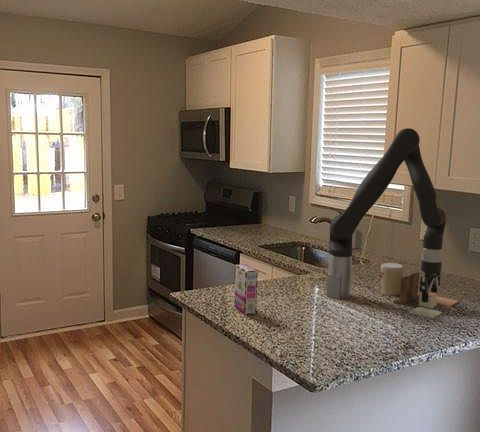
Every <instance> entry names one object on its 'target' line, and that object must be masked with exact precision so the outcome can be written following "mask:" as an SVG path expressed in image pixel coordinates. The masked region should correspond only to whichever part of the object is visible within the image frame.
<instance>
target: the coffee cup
mask: <svg viewBox="0 0 480 432" xmlns="http://www.w3.org/2000/svg"><path fill="white" fill-rule="evenodd" d="M403 274H404V266H403V265H402V264H399V263H394V262H384V263H382V264H381V265H380V293H381V294H383V295H385V296H400V287H401V277H403V276H404V275H403Z"/></svg>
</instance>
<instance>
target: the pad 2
mask: <svg viewBox="0 0 480 432" xmlns="http://www.w3.org/2000/svg"><path fill="white" fill-rule="evenodd" d="M459 302H460V301H459V300H455V299H453V298H448V297H442V296H438V295H437V305H441V306H445V307H449V308H451V307H452V306H454V305H456V304H459Z"/></svg>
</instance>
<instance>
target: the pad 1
mask: <svg viewBox="0 0 480 432" xmlns="http://www.w3.org/2000/svg"><path fill="white" fill-rule="evenodd" d="M408 313H409V314H412V315H416V316H420V317H424V318H427V319H435V318H437V317H438V316H440V315H442V314H443V311H440V310H436V309H433V308H428V307H424V306H418V307H415V308H414V309H411V310H410V311H409V312H408Z"/></svg>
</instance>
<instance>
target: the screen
mask: <svg viewBox="0 0 480 432" xmlns="http://www.w3.org/2000/svg"><path fill="white" fill-rule="evenodd" d="M419 280H420V271H417V270H416V271H413V272H411V273H409V274H406V275H402V277H401V287H400V294H399V298H396V299H394V300H392V303H393V304H398V305H401V306H402V305H404V304H408V303H409V302H411V301H413V300H415V299H417V298H419V297H418V296H419V295H418V294H419V285H420V281H419Z"/></svg>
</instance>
